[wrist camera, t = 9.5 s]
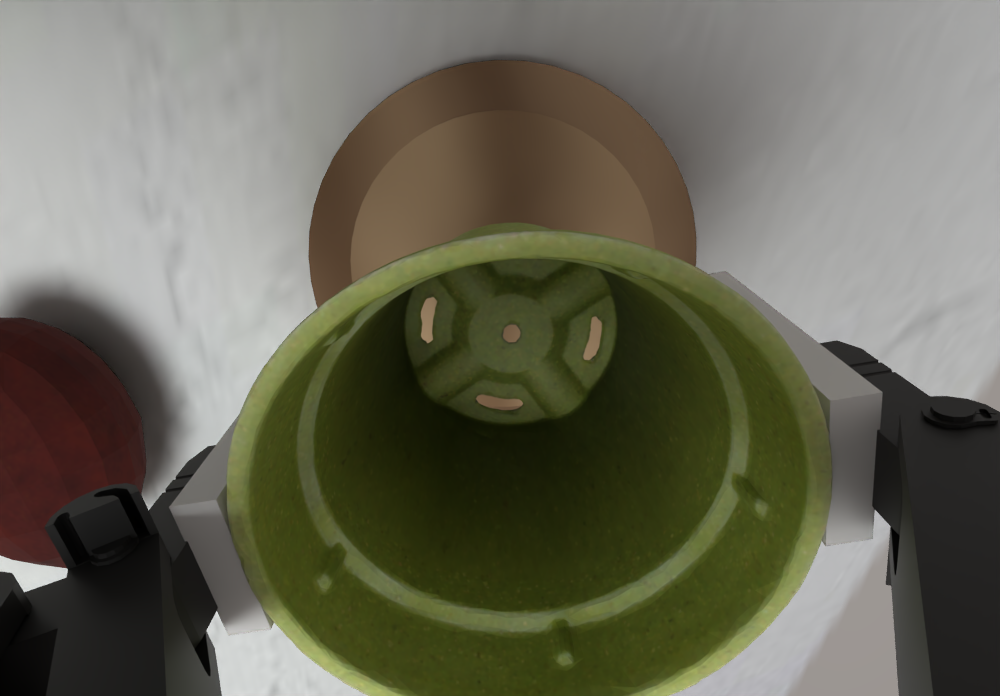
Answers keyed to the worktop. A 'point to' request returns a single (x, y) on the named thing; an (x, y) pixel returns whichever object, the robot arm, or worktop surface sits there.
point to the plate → (494, 175)
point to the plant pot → (529, 473)
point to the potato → (57, 433)
